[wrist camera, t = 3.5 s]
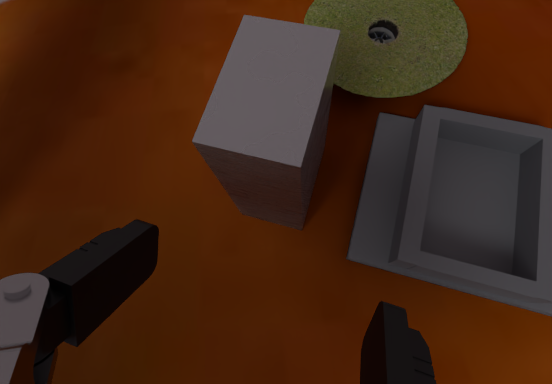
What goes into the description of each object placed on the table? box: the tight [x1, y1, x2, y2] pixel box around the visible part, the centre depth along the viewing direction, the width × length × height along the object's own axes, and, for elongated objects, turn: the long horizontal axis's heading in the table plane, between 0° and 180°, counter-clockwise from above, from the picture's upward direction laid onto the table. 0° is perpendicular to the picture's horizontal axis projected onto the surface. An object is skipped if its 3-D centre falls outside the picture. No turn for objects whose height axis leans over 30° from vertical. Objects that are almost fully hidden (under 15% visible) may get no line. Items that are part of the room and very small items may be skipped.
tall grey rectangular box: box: [192, 15, 340, 230], centre depth 17 cm, size 4×6×10 cm, turn 164°
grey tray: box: [346, 105, 552, 316], centre depth 18 cm, size 12×10×3 cm
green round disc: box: [304, 0, 468, 98], centre depth 23 cm, size 11×11×2 cm
